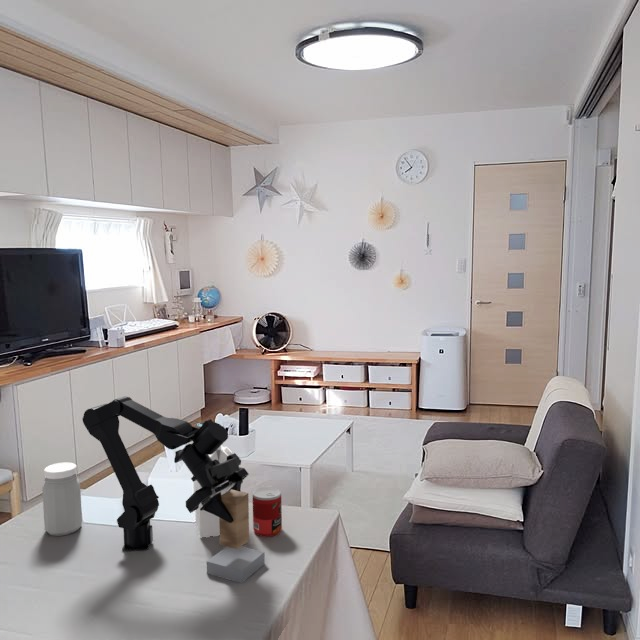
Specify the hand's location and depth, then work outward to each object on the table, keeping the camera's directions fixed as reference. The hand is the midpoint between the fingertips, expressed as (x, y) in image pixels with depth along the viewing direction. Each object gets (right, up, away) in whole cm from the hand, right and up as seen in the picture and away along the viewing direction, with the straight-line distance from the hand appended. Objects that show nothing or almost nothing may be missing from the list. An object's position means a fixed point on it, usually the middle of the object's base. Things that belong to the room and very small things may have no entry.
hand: (238, 517), depth 146 cm
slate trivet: (-1, -13, +3) cm, 13 cm away
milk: (-9, -11, +26) cm, 30 cm away
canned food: (+5, -11, +23) cm, 26 cm away
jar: (-52, -12, +25) cm, 59 cm away
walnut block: (-1, -7, +1) cm, 7 cm away
